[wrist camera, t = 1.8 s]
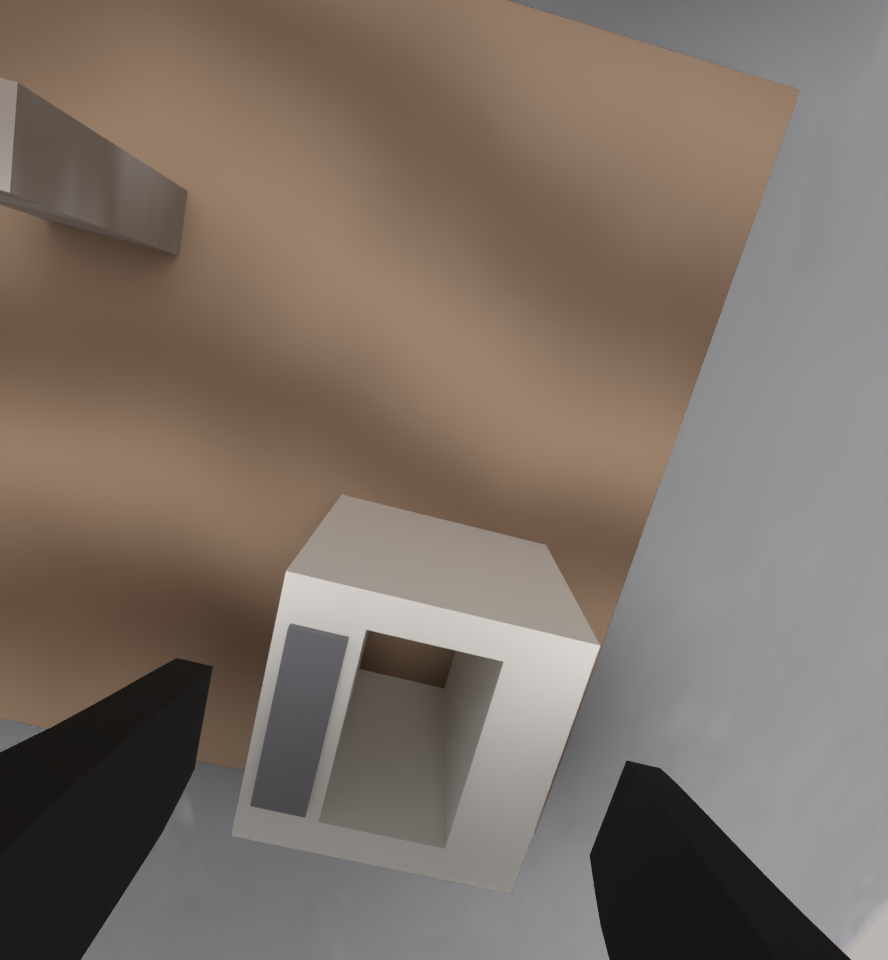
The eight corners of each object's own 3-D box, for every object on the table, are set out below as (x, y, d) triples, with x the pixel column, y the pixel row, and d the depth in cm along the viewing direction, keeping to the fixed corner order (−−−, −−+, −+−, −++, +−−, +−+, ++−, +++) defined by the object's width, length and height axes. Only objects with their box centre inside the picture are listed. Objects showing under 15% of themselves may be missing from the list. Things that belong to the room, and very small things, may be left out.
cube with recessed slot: (546, 544, 14) (602, 650, 9) (489, 721, 15) (512, 902, 10) (341, 494, 14) (282, 574, 9) (300, 679, 15) (228, 843, 10)
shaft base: (528, 800, 17) (574, 1041, 11) (-120, 659, 16) (-457, 841, 10) (768, 113, 13) (1052, -98, 7) (-96, -148, 12) (-664, -675, 6)
